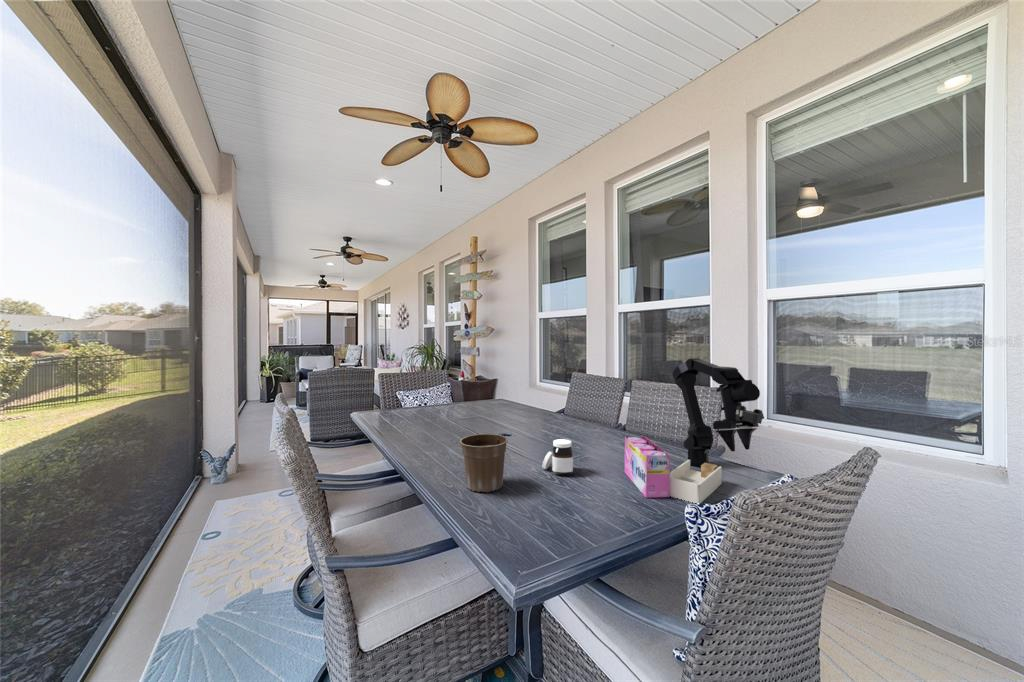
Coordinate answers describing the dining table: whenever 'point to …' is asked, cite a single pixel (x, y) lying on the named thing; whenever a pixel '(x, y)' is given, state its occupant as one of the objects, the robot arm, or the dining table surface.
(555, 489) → the dining table surface
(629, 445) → the gum box
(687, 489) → the channel
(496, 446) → the plant pot
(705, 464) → the oak block
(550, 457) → the spread jar
